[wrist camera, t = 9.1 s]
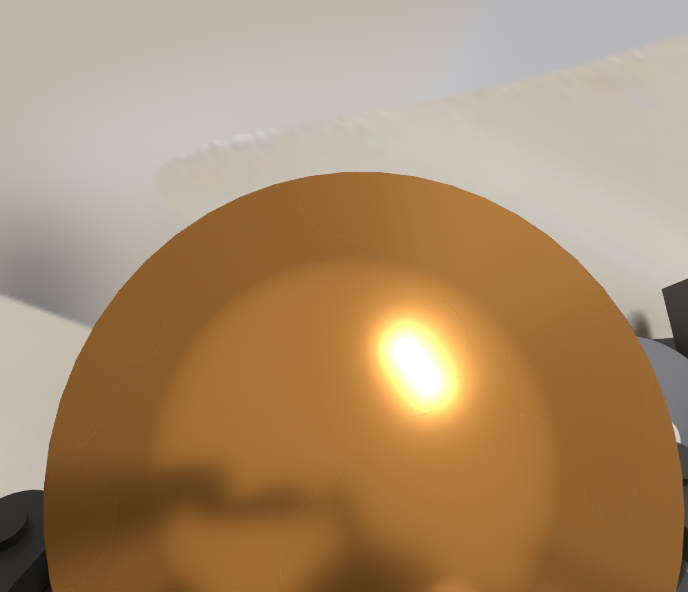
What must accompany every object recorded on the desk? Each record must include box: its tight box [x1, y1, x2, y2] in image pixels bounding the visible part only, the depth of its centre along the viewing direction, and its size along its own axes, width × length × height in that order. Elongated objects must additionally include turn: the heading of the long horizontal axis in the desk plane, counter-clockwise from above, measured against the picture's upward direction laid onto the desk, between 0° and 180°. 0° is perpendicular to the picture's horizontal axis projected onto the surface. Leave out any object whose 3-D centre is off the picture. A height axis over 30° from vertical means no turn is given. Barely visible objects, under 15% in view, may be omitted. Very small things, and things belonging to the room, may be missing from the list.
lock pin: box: [44, 172, 685, 592], centre depth 10 cm, size 4×4×13 cm
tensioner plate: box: [636, 279, 688, 571], centre depth 17 cm, size 9×16×4 cm, turn 5°
